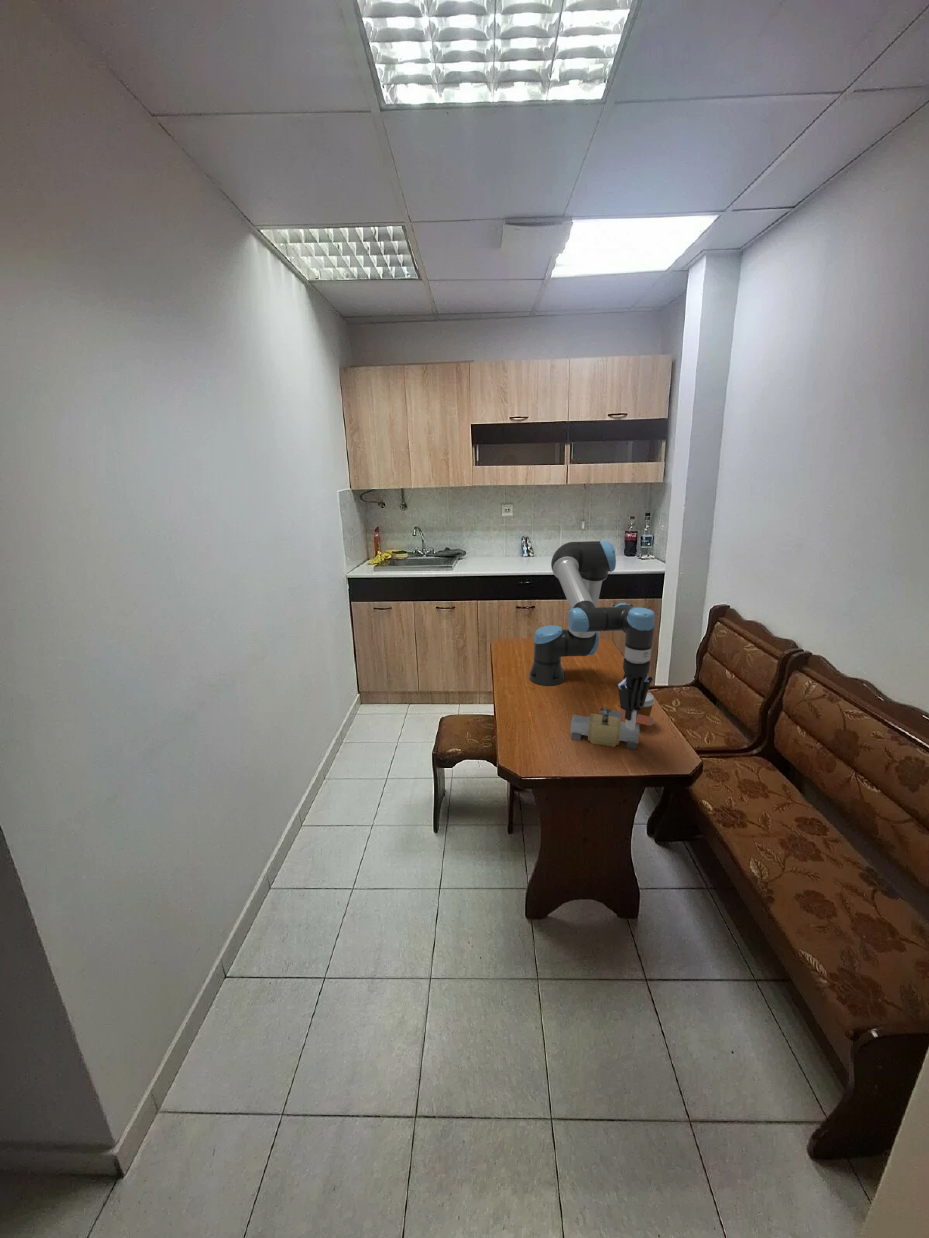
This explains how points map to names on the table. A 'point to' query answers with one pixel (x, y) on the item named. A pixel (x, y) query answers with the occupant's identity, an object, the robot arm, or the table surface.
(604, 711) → the lever
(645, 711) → the disposable coffee cup
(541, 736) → the table surface
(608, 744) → the bar with tan sleeve
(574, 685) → the table surface
